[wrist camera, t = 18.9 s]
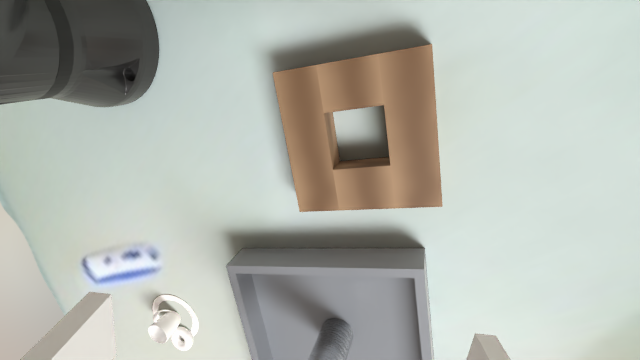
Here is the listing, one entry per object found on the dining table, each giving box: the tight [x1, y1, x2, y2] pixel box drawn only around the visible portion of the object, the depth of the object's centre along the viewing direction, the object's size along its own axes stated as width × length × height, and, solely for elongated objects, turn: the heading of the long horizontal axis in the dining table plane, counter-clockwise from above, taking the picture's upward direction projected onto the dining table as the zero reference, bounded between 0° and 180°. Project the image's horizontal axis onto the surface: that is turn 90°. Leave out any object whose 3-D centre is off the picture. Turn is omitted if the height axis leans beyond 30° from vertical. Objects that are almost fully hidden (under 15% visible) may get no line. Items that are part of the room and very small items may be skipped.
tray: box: [226, 248, 434, 360], centre depth 42 cm, size 22×22×4 cm
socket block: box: [273, 44, 442, 212], centre depth 33 cm, size 14×14×3 cm
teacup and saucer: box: [148, 294, 199, 351], centre depth 51 cm, size 9×8×4 cm
